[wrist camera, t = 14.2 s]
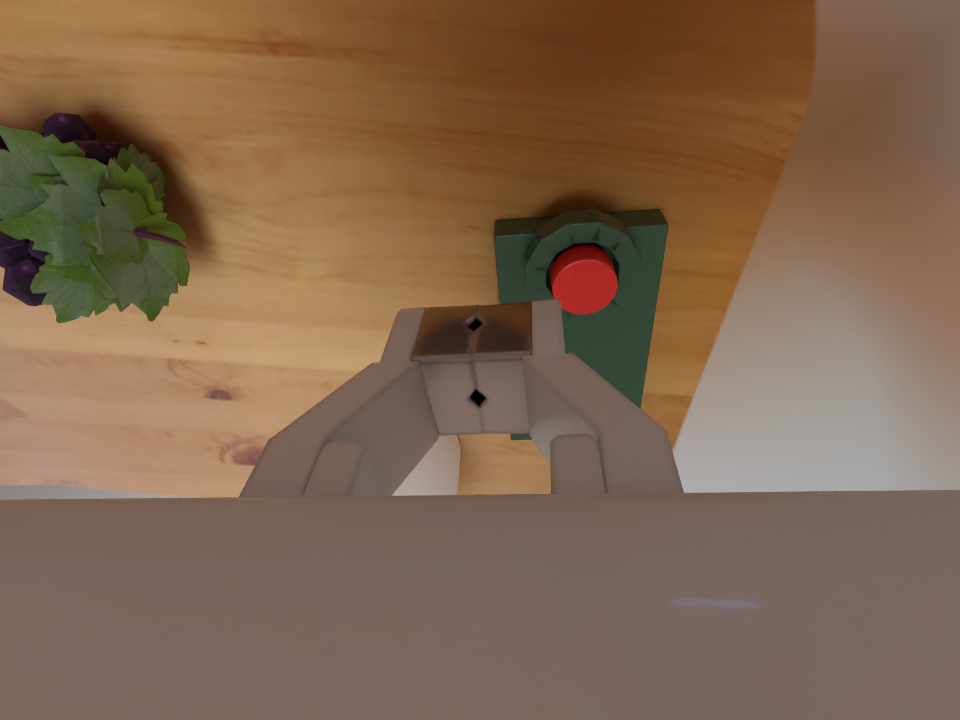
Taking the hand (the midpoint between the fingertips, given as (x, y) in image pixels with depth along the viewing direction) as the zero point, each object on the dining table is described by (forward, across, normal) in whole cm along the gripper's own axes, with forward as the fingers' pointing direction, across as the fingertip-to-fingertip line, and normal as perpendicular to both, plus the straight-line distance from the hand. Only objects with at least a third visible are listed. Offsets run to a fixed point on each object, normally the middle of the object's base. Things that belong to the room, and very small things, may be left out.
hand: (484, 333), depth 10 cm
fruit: (+21, +25, +3) cm, 33 cm away
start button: (+18, -3, +10) cm, 21 cm away
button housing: (+22, -3, +17) cm, 27 cm away
